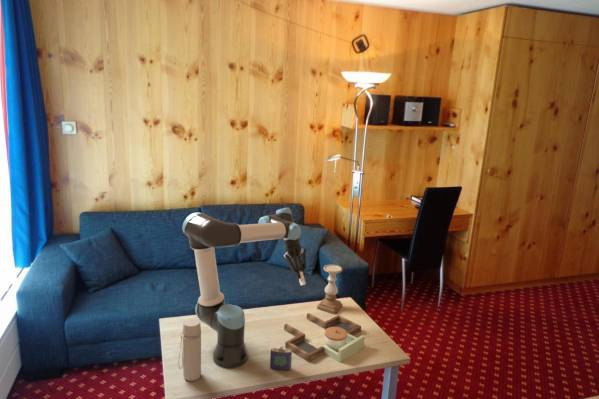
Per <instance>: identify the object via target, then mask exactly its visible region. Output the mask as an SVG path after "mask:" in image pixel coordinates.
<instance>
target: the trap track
mask: <svg viewBox="0 0 599 399" xmlns="http://www.w3.org/2000/svg"><path fill="white" fill-rule="evenodd" d="M306 320H307V321H309V322H311V323H313V324H315V325H317V326H319V327H320V328H322V329H324V330H326V329H327V328H329V327H340V328H343V329H344V330H346V331H347V333H348V336H347V341H346V342H348V343H346V344H345V345H344V346H343V347H341V348H339V349H338V351H334V350H332V349H331V348H329V347H328V346H327V345H325V344H323V345H321V346H319V347H315V346H314V345H312V344H310V343H309V342H307V341H305V340H306V334H305V333H304V332H303V331H300V330H299V329H297V328H295V327H293V326H292V325H290V324H288V323H285V324H283V330H284V331H285V332H287V333H288V334H290V335H292V336H293V337H292V338H291V339H288V340H287V341H285V342H284V344H285V346H284V348H285V349H290V350H292V354H294V355H296V356H297V357H299V358H301V359H303V360H304V361H305V362H307V363H310V362H311V361H313V360H315V359H316V358H319V357H320V356H322V355H323V354H325V355H326V356H328V357H330V358H332V359H333V360H335V361H337V362H338V363H341V362H344V361H345V360H346V359H348V358H350V357H351V356H353V355H354V354H355V353H357V352H359V351H361V350H362V349H364V346H365V339H366V335H364V334H361V335H360V336H358V337H356V335H358V334H359V333H361V331H362V326H361V324H360V325H359V324H358V323H356V322H353V321H351V320H349V319H348V318H346V317H343V316H341V315H340V314H337V315H335V316H334V317H331V318H330V319H327V320H326V321H325V320H324V319H321V318H319V317H317V316H315V315H313V314H312V313H308V312H307V313H306Z"/></svg>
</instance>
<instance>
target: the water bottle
mask: <svg viewBox="0 0 599 399" xmlns="http://www.w3.org/2000/svg"><path fill="white" fill-rule="evenodd" d="M201 329H202V327H201V320H200V319H199V318H195V317H191V318H187V319H185V320H184V321H183V324H182V332H181V333H180V345H179V349H182V351H179V353H178V359H180V357H181V360H182V365H181V366H180V360H178V361H177V362H178V368H179V370H181V369H183V374H182V375H183V378H184V380H186V381H188V382H194V381H197V380H199V379H200V378H201V376H202V330H201ZM180 354H181V356H180Z"/></svg>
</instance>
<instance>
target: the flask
mask: <svg viewBox="0 0 599 399" xmlns="http://www.w3.org/2000/svg"><path fill="white" fill-rule="evenodd" d="M269 355H270V358H269V359H270V361H269V362H270V363H269V364H270V365H269V369H270V370H274V371H287V372H288V371H291V369H292V360H293V359H292V358H293V357H292V356H293V352H292V350H290V349H286V348H285V349H284V346H282V345H281V346H280V347H279V348H276V347H272V348H271V349H270V354H269Z"/></svg>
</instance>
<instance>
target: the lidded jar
mask: <svg viewBox="0 0 599 399" xmlns="http://www.w3.org/2000/svg"><path fill="white" fill-rule="evenodd" d="M347 336H348V333H347V331H346V330H344V329H343V328H340V327H329V328H326V329H324V341H325V344H326V345H325V346H327V347H329V348H331V349H332V350H334V351H336V352H338V349H339V348H341V347H343V346H344V345H346V344H347V342H348V341H347Z"/></svg>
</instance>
